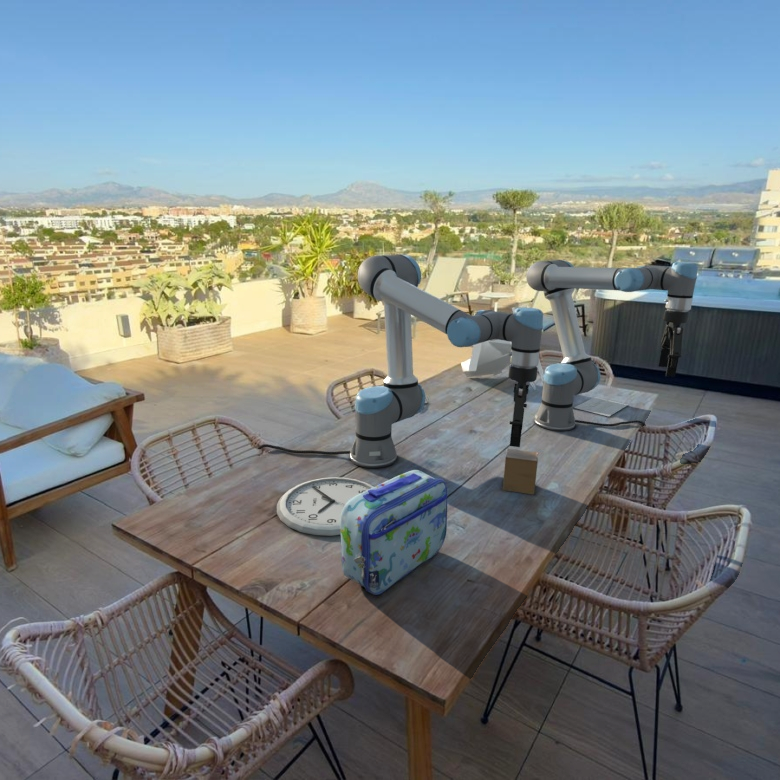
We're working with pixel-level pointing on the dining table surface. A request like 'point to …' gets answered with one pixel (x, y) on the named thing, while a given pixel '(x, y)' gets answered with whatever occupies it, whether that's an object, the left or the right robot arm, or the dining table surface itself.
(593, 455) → the dining table surface
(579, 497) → the dining table surface
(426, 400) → the fork
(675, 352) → the right robot arm
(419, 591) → the dining table surface
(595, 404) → the invitation card
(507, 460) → the wooden block
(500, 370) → the white plastic object
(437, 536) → the lunch box
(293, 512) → the wall clock
